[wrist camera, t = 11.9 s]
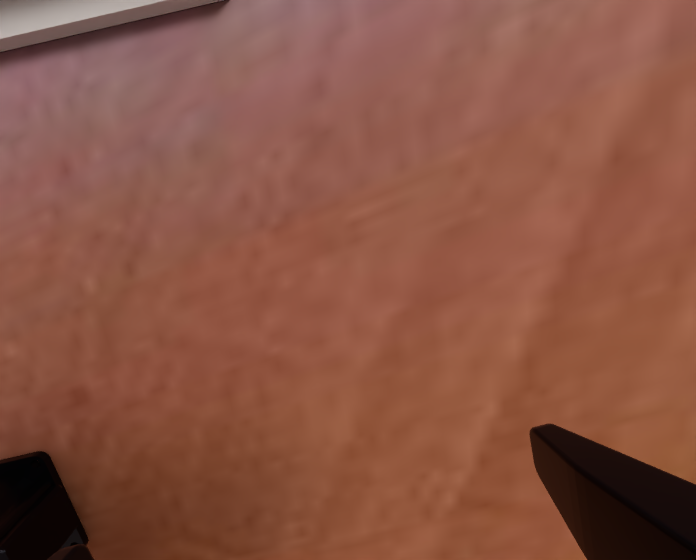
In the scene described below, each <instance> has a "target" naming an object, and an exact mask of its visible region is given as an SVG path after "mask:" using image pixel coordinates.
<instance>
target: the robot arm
mask: <svg viewBox="0 0 696 560" xmlns="http://www.w3.org/2000/svg"><path fill="white" fill-rule="evenodd" d="M530 441H531V447H532V453H533V459H534V465H535V468H536V471H537V473H538V475H539V477H540V479H541V481H542V482H543V484H544V486H545V488H546V489H547V491H548V493H549V495H550V496H551V498H552V500H553V502H554V503H555V505H556V507H557V509H558V510H559V512H560V514H561V515H562V517H563V519H564V521H565V522H566V524H567V526H568V528H569V529H570V531H571V533H572V535H573V536H574V538H575V540H576V542H577V543H578V545H579V547H580V548H581V550H582V552H583V553H584V555H585V557H586V558H587V560H696V484H693V483H691V482H689V481H686V480H684V479H682V478H679V477H677V476H674V475H672V474H670V473H667V472H665V471H663V470H660V469H658V468H656V467H653V466H651V465H648V464H646V463H644V462H641V461H639V460H637V459H634V458H632V457H630V456H627V455H625V454H622V453H620V452H618V451H615V450H613V449H611V448H608V447H606V446H604V445H601V444H599V443H596V442H594V441H592V440H589V439H587V438H585V437H582V436H580V435H578V434H575V433H573V432H571V431H568V430H566V429H563V428H561V427H559V426H556V425H554V424H544V425H540V426H537V427H533V428H532V429H531V430H530ZM36 460H37V461H39V462H40V463H39V462H37V461H36ZM88 541H89V540H88V537H87V535H86V533H85V530H84V528H83V526H82V524H81V522H80V520H79V518H78V516H77V513H76V511H75V509H74V507H73V505H72V503H71V501H70V499H69V496H68V494H67V492H66V490H65V488H64V486H63V484H62V482H61V479H60V477H59V475H58V473H57V471H56V469H55V467H54V465H53V462H52V460H51V458H50V457H49V455H48V454H47V453H45V452H42V451H38V452H33V453H29V454H25V455H20V456H16V457H12V458H7V459H3V460H0V560H94V559H93V557H92V555H91V553H90V551H89V549H88V548H87V546H86V545H87V543H88Z"/></svg>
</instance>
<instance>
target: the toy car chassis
mask: <svg viewBox="0 0 696 560" xmlns="http://www.w3.org/2000/svg"><path fill="white" fill-rule="evenodd" d="M218 1H223V0H0V52H3V51H7V50H11V49H16V48H20V47H24V46H29V45H33V44H37V43H42V42H46V41H50V40H55V39H59V38H63V37H68V36H72V35H76V34H80V33H85V32H89V31H93V30H98V29H102V28H106V27H111V26H115V25H119V24H124V23H128V22H132V21H137V20H141V19H145V18H149V17H154V16H158V15H162V14H167V13H171V12H175V11H180V10H184V9H188V8H193V7H197V6H201V5H206V4H210V3H214V2H218Z"/></svg>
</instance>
